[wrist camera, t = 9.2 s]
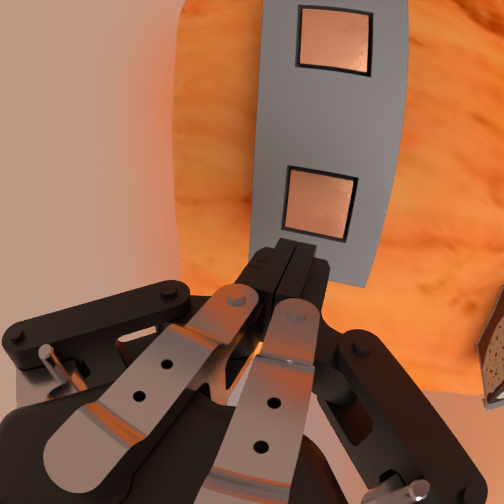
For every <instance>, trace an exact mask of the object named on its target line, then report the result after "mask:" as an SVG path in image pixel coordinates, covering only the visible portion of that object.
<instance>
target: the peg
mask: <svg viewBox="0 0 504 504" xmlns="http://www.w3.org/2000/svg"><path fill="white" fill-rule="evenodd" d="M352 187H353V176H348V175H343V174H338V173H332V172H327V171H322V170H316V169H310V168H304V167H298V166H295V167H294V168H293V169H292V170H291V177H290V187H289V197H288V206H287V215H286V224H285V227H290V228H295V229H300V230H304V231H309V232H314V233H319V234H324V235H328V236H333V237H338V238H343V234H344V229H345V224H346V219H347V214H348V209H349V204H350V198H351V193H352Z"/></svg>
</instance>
